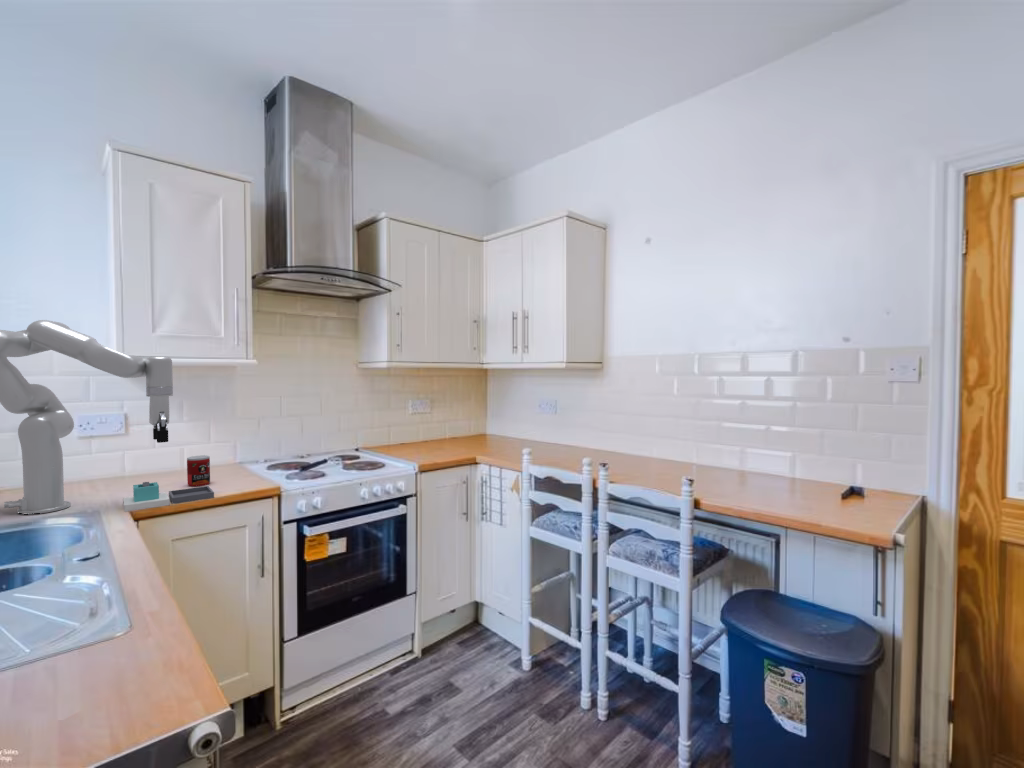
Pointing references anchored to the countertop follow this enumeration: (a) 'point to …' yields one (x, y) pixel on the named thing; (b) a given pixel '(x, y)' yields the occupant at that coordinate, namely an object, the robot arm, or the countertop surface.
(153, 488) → the teal notched block
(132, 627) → the countertop surface
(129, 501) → the stake block
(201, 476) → the canned food
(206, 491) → the tray
